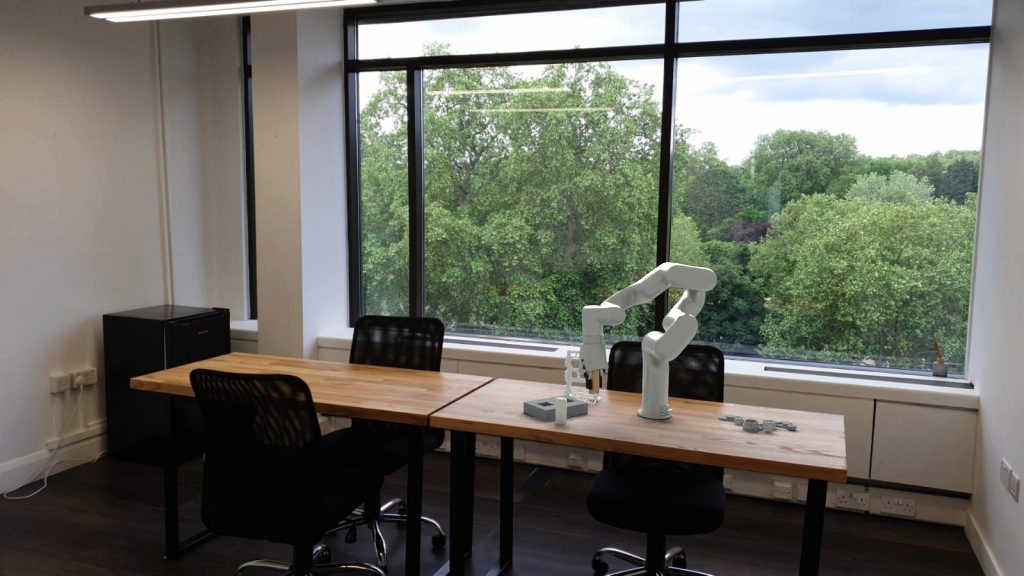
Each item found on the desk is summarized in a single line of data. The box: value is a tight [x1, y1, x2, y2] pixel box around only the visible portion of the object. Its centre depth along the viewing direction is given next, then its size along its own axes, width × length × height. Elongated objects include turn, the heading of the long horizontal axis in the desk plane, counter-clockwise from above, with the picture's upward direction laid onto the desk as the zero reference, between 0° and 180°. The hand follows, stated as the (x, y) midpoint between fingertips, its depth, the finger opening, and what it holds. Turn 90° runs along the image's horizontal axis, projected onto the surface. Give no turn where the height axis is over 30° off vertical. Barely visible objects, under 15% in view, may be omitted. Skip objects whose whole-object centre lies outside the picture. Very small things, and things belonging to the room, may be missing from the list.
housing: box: [522, 394, 589, 422], centre depth 270 cm, size 14×20×4 cm
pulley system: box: [717, 414, 797, 433], centre depth 255 cm, size 27×5×15 cm
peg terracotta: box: [588, 369, 601, 394], centre depth 263 cm, size 4×4×9 cm
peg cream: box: [554, 396, 568, 426], centre depth 256 cm, size 4×4×9 cm
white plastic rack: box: [563, 349, 602, 406], centre depth 289 cm, size 14×14×20 cm
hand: (594, 387), depth 264 cm, fingers closed on peg terracotta, 4 cm apart
